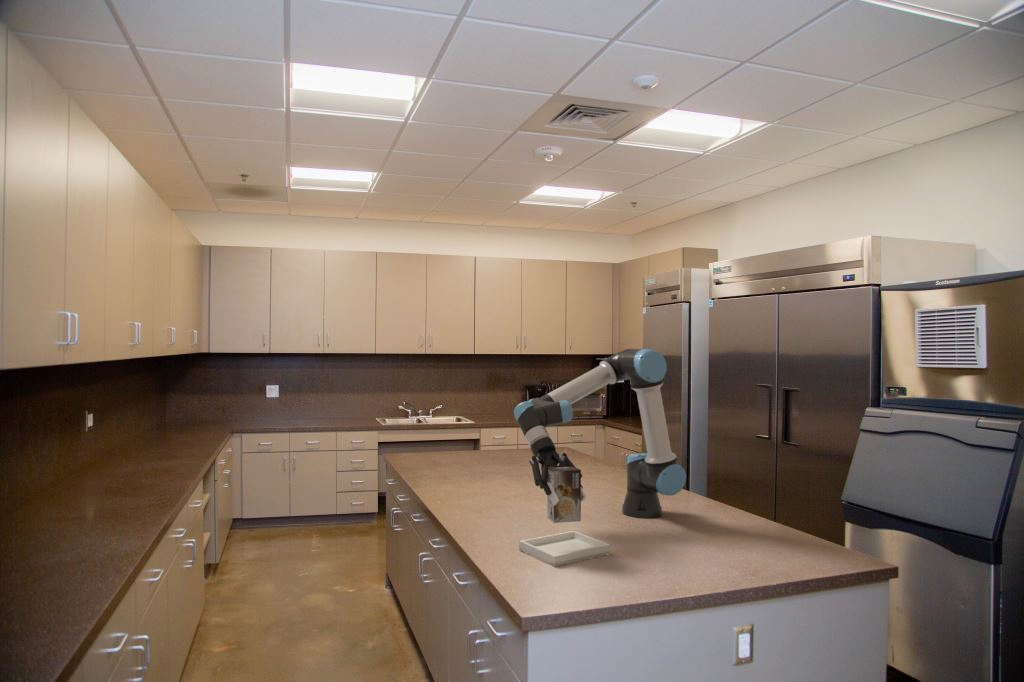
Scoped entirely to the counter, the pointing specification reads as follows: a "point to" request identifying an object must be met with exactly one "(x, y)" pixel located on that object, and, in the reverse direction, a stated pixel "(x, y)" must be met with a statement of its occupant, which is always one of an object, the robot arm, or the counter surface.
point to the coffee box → (565, 494)
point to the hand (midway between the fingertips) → (570, 501)
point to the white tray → (564, 548)
